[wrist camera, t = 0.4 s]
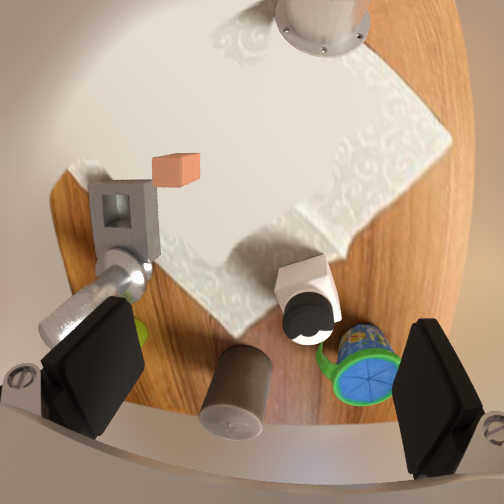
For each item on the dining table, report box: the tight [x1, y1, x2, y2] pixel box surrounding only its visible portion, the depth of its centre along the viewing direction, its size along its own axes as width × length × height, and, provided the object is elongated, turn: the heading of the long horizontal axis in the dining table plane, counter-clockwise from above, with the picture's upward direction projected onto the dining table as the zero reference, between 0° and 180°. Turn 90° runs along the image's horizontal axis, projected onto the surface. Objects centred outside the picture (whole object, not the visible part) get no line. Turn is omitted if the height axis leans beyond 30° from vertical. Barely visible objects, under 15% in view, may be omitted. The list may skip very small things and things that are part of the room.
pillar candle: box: [199, 345, 272, 441], centre depth 46 cm, size 10×10×15 cm
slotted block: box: [38, 180, 161, 350], centre depth 37 cm, size 18×10×22 cm, turn 178°
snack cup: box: [316, 324, 401, 406], centre depth 43 cm, size 16×10×10 cm
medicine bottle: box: [274, 254, 342, 345], centre depth 40 cm, size 7×7×12 cm
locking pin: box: [152, 153, 200, 188], centre depth 39 cm, size 4×4×8 cm
